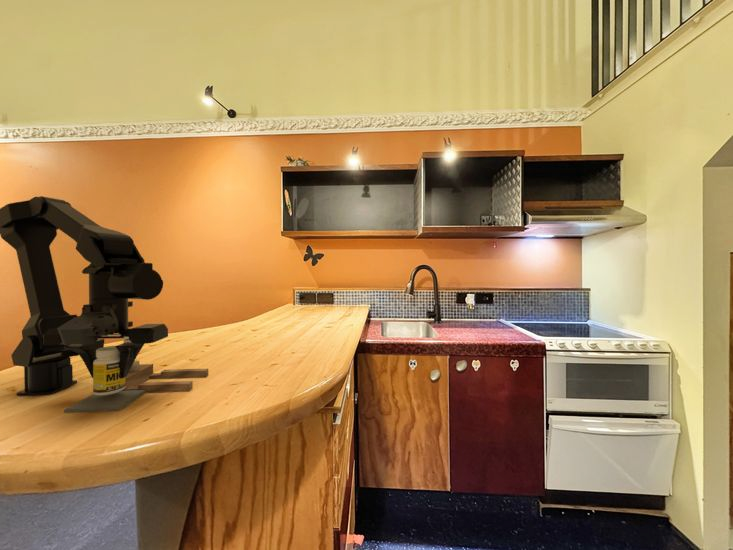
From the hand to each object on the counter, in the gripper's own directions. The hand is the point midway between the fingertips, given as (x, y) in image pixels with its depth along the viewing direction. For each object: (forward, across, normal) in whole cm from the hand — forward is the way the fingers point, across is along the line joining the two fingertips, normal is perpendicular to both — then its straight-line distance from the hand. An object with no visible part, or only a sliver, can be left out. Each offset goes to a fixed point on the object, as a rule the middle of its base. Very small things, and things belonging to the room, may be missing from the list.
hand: (109, 377), depth 58 cm
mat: (+4, 0, 0) cm, 4 cm away
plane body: (+4, +5, +8) cm, 11 cm away
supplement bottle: (+3, 0, 0) cm, 3 cm away
